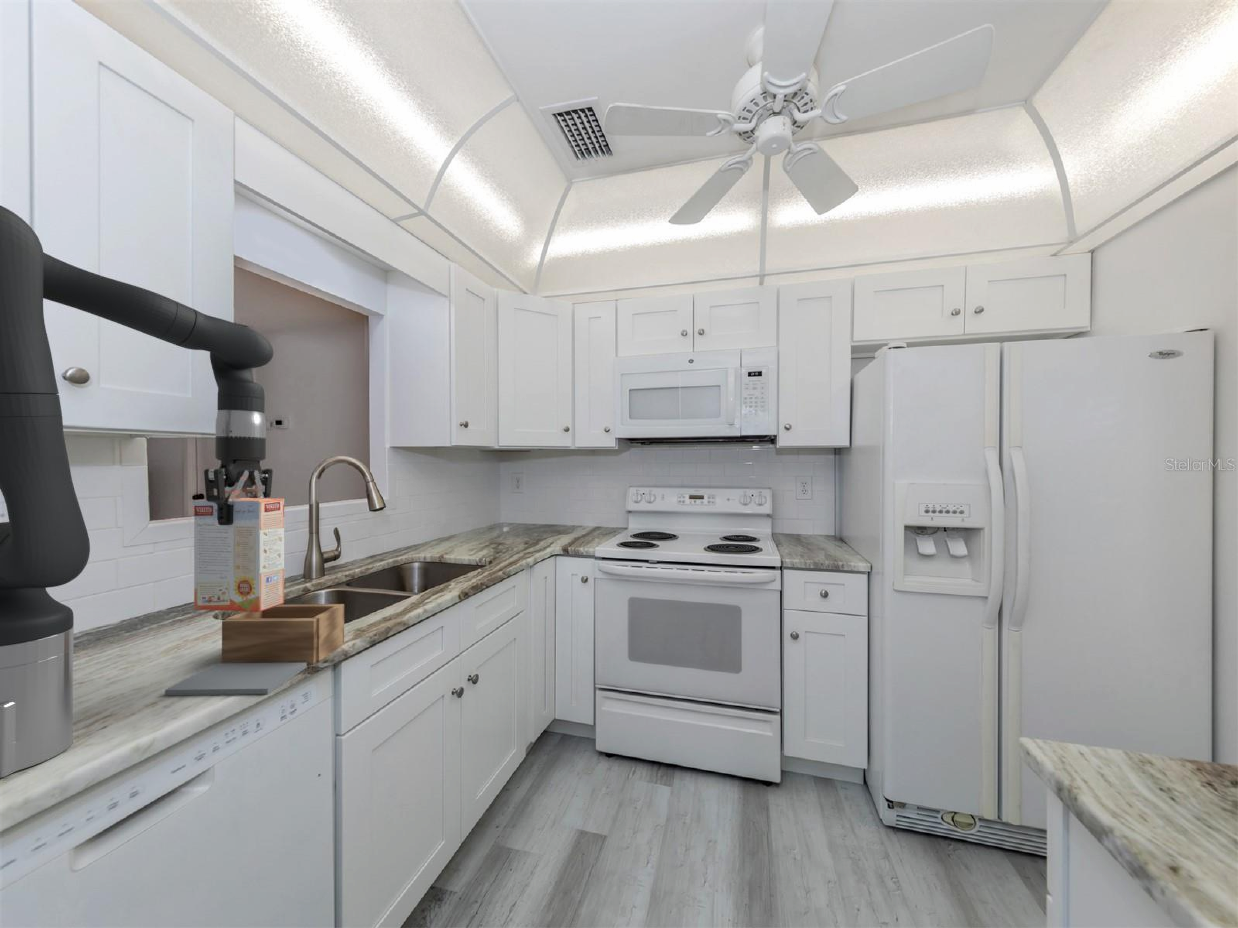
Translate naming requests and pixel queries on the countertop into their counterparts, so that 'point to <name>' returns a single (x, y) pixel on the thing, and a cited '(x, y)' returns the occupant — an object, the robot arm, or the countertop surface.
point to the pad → (237, 679)
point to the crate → (283, 634)
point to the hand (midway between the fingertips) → (240, 522)
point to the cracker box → (239, 556)
